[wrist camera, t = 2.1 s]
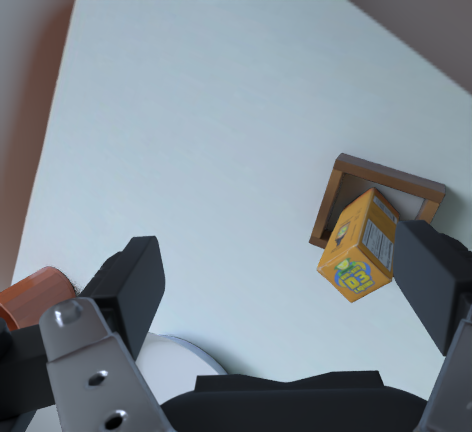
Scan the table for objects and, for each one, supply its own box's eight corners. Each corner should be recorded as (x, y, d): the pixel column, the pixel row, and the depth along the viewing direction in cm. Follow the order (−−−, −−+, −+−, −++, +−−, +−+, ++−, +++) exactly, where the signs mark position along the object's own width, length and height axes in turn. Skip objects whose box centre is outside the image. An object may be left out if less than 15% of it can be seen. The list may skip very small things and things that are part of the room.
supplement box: (370, 237, 30) (347, 307, 22) (342, 207, 30) (310, 266, 22) (404, 215, 28) (392, 284, 20) (375, 183, 28) (351, 239, 20)
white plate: (95, 340, 58) (77, 356, 55) (186, 288, 43) (168, 305, 40) (188, 459, 59) (176, 481, 56) (307, 447, 45) (298, 475, 42)
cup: (38, 258, 56) (-21, 290, 49) (74, 278, 54) (18, 315, 46) (43, 294, 60) (-11, 329, 53) (77, 315, 57) (25, 354, 50)
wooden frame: (341, 152, 29) (335, 159, 27) (445, 184, 26) (445, 193, 25) (314, 233, 33) (308, 243, 31) (402, 267, 30) (401, 280, 29)
